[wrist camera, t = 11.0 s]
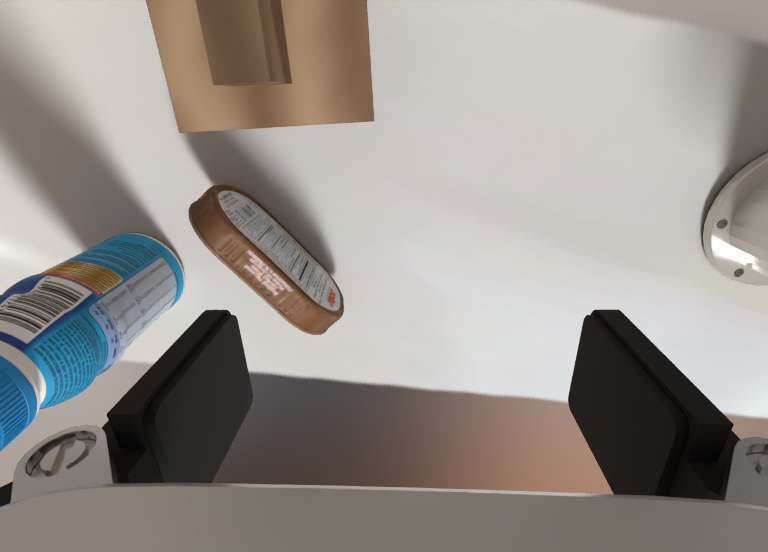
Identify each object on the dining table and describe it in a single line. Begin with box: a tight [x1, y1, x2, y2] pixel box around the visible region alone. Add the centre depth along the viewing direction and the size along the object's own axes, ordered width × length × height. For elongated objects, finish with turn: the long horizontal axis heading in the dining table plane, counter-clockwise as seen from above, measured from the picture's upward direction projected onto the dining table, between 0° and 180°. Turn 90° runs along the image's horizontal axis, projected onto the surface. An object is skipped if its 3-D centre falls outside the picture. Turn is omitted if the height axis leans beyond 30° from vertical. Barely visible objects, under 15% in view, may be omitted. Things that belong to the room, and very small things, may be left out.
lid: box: [146, 0, 374, 133], centre depth 22 cm, size 13×13×6 cm
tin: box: [189, 185, 344, 335], centre depth 33 cm, size 15×3×8 cm, turn 41°
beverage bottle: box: [0, 233, 185, 451], centre depth 30 cm, size 8×8×20 cm
